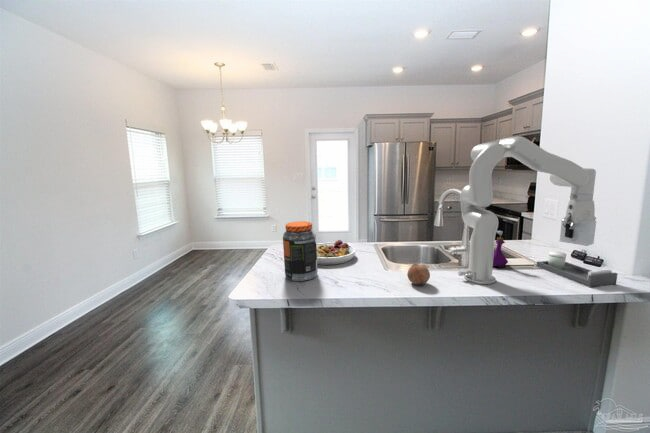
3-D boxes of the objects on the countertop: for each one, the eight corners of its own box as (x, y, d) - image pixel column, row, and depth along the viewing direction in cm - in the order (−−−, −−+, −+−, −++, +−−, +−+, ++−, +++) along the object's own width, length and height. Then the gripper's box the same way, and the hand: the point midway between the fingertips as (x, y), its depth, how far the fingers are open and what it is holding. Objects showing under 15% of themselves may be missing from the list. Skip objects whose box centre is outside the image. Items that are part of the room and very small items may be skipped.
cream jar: (556, 270, 141) (558, 255, 140) (544, 265, 148) (545, 251, 147) (568, 269, 142) (570, 254, 141) (555, 264, 149) (557, 250, 148)
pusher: (589, 283, 125) (590, 272, 124) (586, 282, 126) (588, 271, 125) (610, 281, 126) (611, 270, 125) (607, 280, 127) (609, 269, 126)
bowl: (340, 270, 151) (340, 255, 150) (292, 262, 166) (291, 248, 164) (363, 254, 176) (363, 241, 175) (320, 248, 191) (319, 236, 190)
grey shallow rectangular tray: (589, 287, 123) (591, 275, 122) (536, 266, 149) (537, 256, 148) (615, 284, 125) (617, 273, 124) (558, 264, 151) (560, 254, 150)
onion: (410, 287, 135) (404, 266, 137) (431, 282, 133) (424, 260, 135) (412, 288, 125) (405, 265, 128) (434, 283, 124) (426, 260, 126)
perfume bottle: (507, 268, 147) (511, 232, 144) (491, 267, 148) (494, 232, 145) (502, 263, 154) (505, 229, 151) (486, 262, 156) (489, 229, 152)
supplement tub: (321, 271, 149) (320, 220, 144) (311, 283, 134) (309, 227, 130) (292, 269, 154) (290, 219, 149) (279, 280, 139) (276, 226, 134)
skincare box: (594, 244, 129) (597, 220, 128) (587, 246, 126) (590, 222, 124) (565, 239, 138) (568, 216, 137) (558, 241, 135) (561, 218, 133)
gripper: (572, 199, 124) (568, 240, 127) (607, 197, 126) (602, 237, 130) (556, 197, 131) (552, 236, 134) (589, 195, 134) (584, 233, 137)
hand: (576, 236), depth 132 cm, fingers closed on skincare box, 7 cm apart
